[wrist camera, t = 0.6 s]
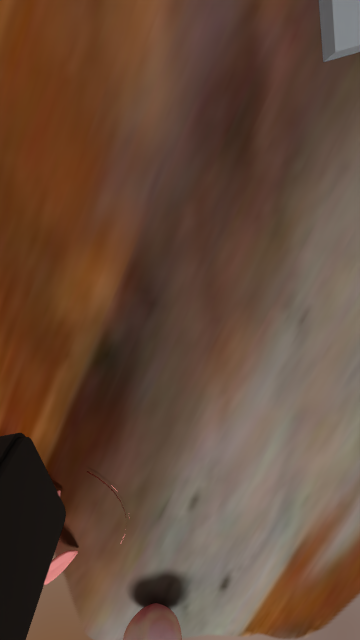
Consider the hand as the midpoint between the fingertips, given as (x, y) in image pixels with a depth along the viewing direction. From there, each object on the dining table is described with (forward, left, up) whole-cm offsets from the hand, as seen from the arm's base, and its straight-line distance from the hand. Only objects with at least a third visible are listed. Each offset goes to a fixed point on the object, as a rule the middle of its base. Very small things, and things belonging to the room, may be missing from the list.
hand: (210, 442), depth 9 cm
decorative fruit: (+57, -19, -29) cm, 67 cm away
